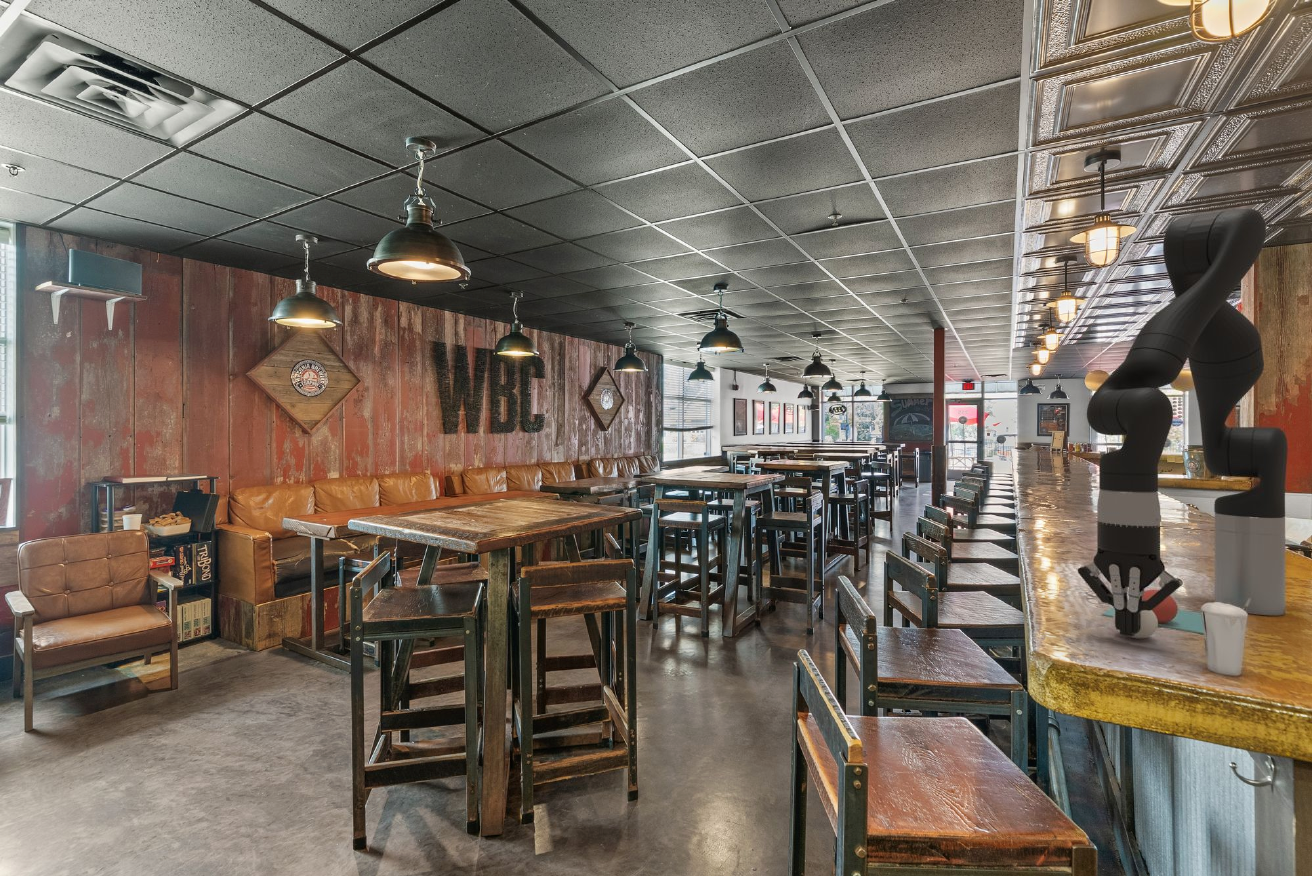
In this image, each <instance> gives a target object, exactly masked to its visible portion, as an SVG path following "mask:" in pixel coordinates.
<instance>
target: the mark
mask: <svg viewBox="0 0 1312 876" xmlns="http://www.w3.org/2000/svg"><path fill="white" fill-rule="evenodd" d="M1114 611H1115V608H1114V607H1113V606H1112V607H1111V608H1110V609H1108V610H1106V611H1105V612H1103V613H1102V616H1105V617H1110V618H1113V613H1114ZM1158 627H1163V628H1169V629H1173V630H1174V629H1175V630H1178V631H1179V630H1181V631H1185V632H1191V633H1196V634H1199V635H1200V634H1201V635H1204V630H1203V622H1202V614H1201V612H1196V611H1191V610H1190V611H1189V610H1184V609H1178V611H1177V615H1176V617H1175V618H1174V619H1173V620H1171V621H1169V622H1167V623H1158Z"/></svg>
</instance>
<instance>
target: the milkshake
mask: <svg viewBox="0 0 1312 876" xmlns="http://www.w3.org/2000/svg"><path fill="white" fill-rule="evenodd" d="M1251 599H1252V598H1249V599H1248V601H1247V603H1246V604H1245V606H1244V608H1243V609H1241V608H1239V607H1236V606H1233V605H1230V604H1224V603H1221V602H1214V601H1213V602H1210V601H1209V602H1205V603H1204V604H1203V605H1202V606H1201V607H1200V613H1201V614H1202V622H1203V630H1204V634H1203V637H1204V638H1203V639H1204V648H1205V649H1204V650H1205V660H1206V667H1207V669H1208V670H1209V671H1211V672H1212V673H1213V672H1214V673H1216V674H1219V675H1223V676H1224V675H1225V676H1232V677H1238V676H1240V675H1242V668H1243V667H1242V666H1243V655H1244V648H1245V647H1244V645H1245V636H1246V629H1247V620H1248V617H1249V615H1248V614H1249V613H1246V612H1245V611H1246V609H1247V607H1248V605H1249V603H1250V601H1251Z"/></svg>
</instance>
